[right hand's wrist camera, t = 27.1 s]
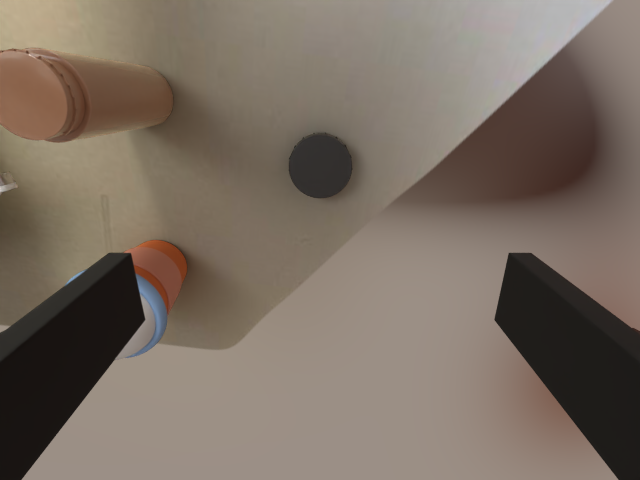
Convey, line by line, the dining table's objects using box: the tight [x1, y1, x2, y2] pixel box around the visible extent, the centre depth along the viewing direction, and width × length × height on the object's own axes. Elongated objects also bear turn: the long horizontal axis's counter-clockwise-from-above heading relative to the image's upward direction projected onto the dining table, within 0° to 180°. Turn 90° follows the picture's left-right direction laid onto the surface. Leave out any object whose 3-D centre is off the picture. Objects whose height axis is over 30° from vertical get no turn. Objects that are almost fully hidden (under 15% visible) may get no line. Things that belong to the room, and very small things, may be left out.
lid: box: [289, 133, 352, 198], centre depth 36 cm, size 6×6×2 cm
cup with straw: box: [66, 240, 187, 360], centre depth 33 cm, size 9×9×18 cm
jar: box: [0, 48, 173, 143], centre depth 28 cm, size 5×5×15 cm
